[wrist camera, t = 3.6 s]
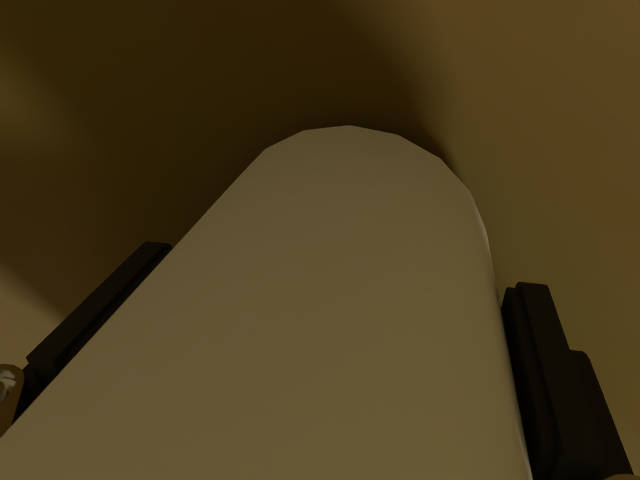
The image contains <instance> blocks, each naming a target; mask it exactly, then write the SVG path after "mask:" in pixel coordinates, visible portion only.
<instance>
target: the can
mask: <svg viewBox="0 0 640 480" xmlns="http://www.w3.org/2000/svg"><path fill="white" fill-rule="evenodd" d="M0 480H533V479H532V473H531V468H530V463H529V457H528V452H527V447H526V441H525V436H524V431H523V425H522V420H521V415H520V409H519V404H518V399H517V393H516V388H515V382H514V377H513V372H512V366H511V361H510V356H509V350H508V345H507V340H506V334H505V329H504V324H503V318H502V313H501V308H500V302H499V297H498V292H497V286H496V281H495V275H494V270H493V265H492V259H491V254H490V249H489V243H488V238H487V233H486V229H485V227H484V224H483V222H482V219H481V217H480V214H479V212H478V209H477V207H476V204H475V202H474V199H473V197H472V194H471V192H470V191H469V190H468V189H467V187H466V186H465V185H464V184H463V183H462V182H461V181H460V180H459V179H458V178H457V176H456V175H455V174H454V173H453V172H452V171H451V170H450V169H449V168H448V167H447V165H446V164H445V163H444V162H443V161H442V160H441V159H440V158H439V157H437V156H435V155H433V154H431V153H430V152H428V151H426V150H424V149H422V148H421V147H419V146H417V145H415V144H413V143H412V142H410V141H408V140H406V139H404V138H403V137H401V136H399V135H397V134H392V133H387V132H382V131H377V130H372V129H367V128H362V127H357V126H352V125H346V126H337V127H329V128H320V129H311V130H303V131H301V132H299V133H297V134H295V135H293V136H291V137H289V138H287V139H285V140H282V141H280V142H278V143H276V144H274V145H272V146H270V147H268V148H266V149H265V150H264V151H263V152H262V153H261V154H260V155H259V156H258V157H257V158H256V159H255V160H254V161H253V162H252V163H251V164H250V165H249V166H248V167H247V168H246V169H245V170H244V172H243V173H242V174H241V175H240V176H239V177H238V178H237V179H236V180H235V181H234V182H233V183H232V184H231V186H230V187H229V188H228V189H227V190H226V191H225V192H224V193H223V194H222V195H221V197H220V198H219V199H218V200H217V201H216V202H215V203H214V204H213V205H212V206H211V208H210V209H209V210H208V211H207V212H206V213H205V214H204V215H203V216H202V217H201V219H200V220H199V221H198V222H197V223H196V224H195V225H194V226H193V227H192V228H191V229H190V231H189V232H188V233H187V234H186V235H185V236H184V237H183V238H182V239H181V240H180V242H179V243H178V244H177V245H176V246H175V247H174V248H173V249H172V250H171V251H170V253H169V254H168V255H167V256H166V257H165V258H164V259H163V260H162V261H161V262H160V264H159V265H158V266H157V267H156V268H155V269H154V270H153V271H152V272H151V273H150V275H149V276H148V277H147V278H146V279H145V280H144V281H143V282H142V283H141V284H140V285H139V287H138V288H137V289H136V290H135V291H134V292H133V293H132V294H131V295H130V296H129V298H128V299H127V300H126V301H125V302H124V303H123V304H122V305H121V306H120V307H119V309H118V310H117V311H116V312H115V313H114V314H113V315H112V316H111V317H110V318H109V320H108V321H107V322H106V323H105V324H104V325H103V326H102V327H101V328H100V329H99V330H98V332H97V333H96V334H95V335H94V336H93V337H92V338H91V339H90V340H89V341H88V343H87V344H86V345H85V346H84V347H83V348H82V349H81V350H80V351H79V352H78V354H77V355H76V356H75V357H74V358H73V359H72V360H71V361H70V362H69V363H68V365H67V366H66V367H65V368H64V369H63V370H62V371H61V372H60V373H59V374H58V376H57V377H56V378H55V379H54V380H53V381H52V382H51V383H50V384H49V385H48V386H47V388H46V389H45V390H44V391H43V392H42V393H41V394H40V395H39V396H38V397H37V399H36V400H35V401H34V402H33V403H32V404H31V405H30V406H29V407H28V408H27V410H26V411H25V412H24V413H23V414H22V415H21V416H20V417H19V418H18V419H17V421H16V422H15V423H14V424H13V425H12V426H11V427H10V428H9V429H8V430H7V431H6V433H5V434H4V435H3V436H2V437H1V438H0Z"/></svg>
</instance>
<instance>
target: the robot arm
mask: <svg viewBox="0 0 640 480" xmlns="http://www.w3.org/2000/svg"><path fill="white" fill-rule="evenodd" d="M172 249H173V248H172V246H171V245H170V244H167V243H157V242H145V243H143V244H142V245H141V246H140V247H139V248H138V249H137V250H136V251H135V252H134V253H133V254H132V255H131V256H130V257H129V258H128V259H127V260H126V261H125V262H123V263H122V264H121V265H120V266H119V267H118V268H117V269H116V270H115V271H114V272H113V273H112V274H111V275H110V276H109V277H108V278H107V279H106V280H105V281H104V282H103V283H102V284H101V285H100V286H99V287H98V288H97V289H96V290H95V291H94V292H93V293H92V294H91V295H89V296H88V297H87V298H86V299H85V300H84V301H83V302H82V303H81V304H80V305H79V306H78V307H77V308H76V309H75V310H74V311H73V312H72V313H71V314H70V315H69V316H68V317H67V318H66V319H65V320H64V321H63V322H62V323H61V324H60V325H59V326H58V327H56V328H55V329H54V330H53V331H52V332H51V333H50V334H49V335H48V336H47V337H46V338H45V339H44V340H43V341H42V342H41V343H40V344H39V345H38V346H37V347H36V348H35V349H34V350H33V351H32V352H31V353H30V354H29V355H28V356H27V357H26V359H27V361H28V363H29V364H28V365H27V366H26V367H25V368H24V369H23V370H21V369H20V368H19V367H17V366H15V365H10V364H0V438H1V437H2V436H3V435H4V434H5V433H6V431H7V430H8V429H9V428H10V427H11V426H12V425H13V424H14V423H15V422H16V421H17V419H18V418H19V417H20V416H21V415H22V414H23V413H24V412H25V411H26V410H27V408H28V407H29V406H30V405H31V404H32V403H33V402H34V401H35V400H36V399H37V397H38V396H39V395H40V394H41V393H42V392H43V391H44V390H45V389H46V388H47V386H48V385H49V384H50V383H51V382H52V381H53V380H54V379H55V378H56V377H57V376H58V374H59V373H60V372H61V371H62V370H63V369H64V368H65V367H66V366H67V365H68V363H69V362H70V361H71V360H72V359H73V358H74V357H75V356H76V355H77V354H78V352H79V351H80V350H81V349H82V348H83V347H84V346H85V345H86V344H87V343H88V341H89V340H90V339H91V338H92V337H93V336H94V335H95V334H96V333H97V332H98V330H99V329H100V328H101V327H102V326H103V325H104V324H105V323H106V322H107V321H108V320H109V318H110V317H111V316H112V315H113V314H114V313H115V312H116V311H117V310H118V309H119V307H120V306H121V305H122V304H123V303H124V302H125V301H126V300H127V299H128V298H129V296H130V295H131V294H132V293H133V292H134V291H135V290H136V289H137V288H138V287H139V285H140V284H141V283H142V282H143V281H144V280H145V279H146V278H147V277H148V276H149V275H150V273H151V272H152V271H153V270H154V269H155V268H156V267H157V266H158V265H159V264H160V262H161V261H162V260H163V259H164V258H165V257H166V256H167V255H168V254H169V253H170V251H171V250H172ZM501 313H502V318H503V324H504V329H505V334H506V340H507V345H508V350H509V356H510V361H511V366H512V372H513V377H514V382H515V388H516V393H517V399H518V404H519V409H520V415H521V420H522V425H523V431H524V436H525V441H526V447H527V452H528V457H529V463H530V468H531V473H532V479H533V480H640V476H636V475H634V474H633V471H632V468H631V466H630V463H629V461H628V458H627V455H626V453H625V450H624V448H623V445H622V442H621V440H620V437H619V435H618V432H617V429H616V427H615V424H614V422H613V419H612V416H611V414H610V411H609V409H608V406H607V403H606V401H605V398H604V395H603V393H602V390H601V388H600V385H599V382H598V380H597V377H596V375H595V372H594V369H593V367H592V364H591V362H590V360H589V358H588V356H587V354H586V353H584V352H583V351H575V350H570V349H569V346H568V343H567V340H566V337H565V335H564V332H563V329H562V326H561V323H560V320H559V317H558V314H557V311H556V308H555V305H554V302H553V299H552V297H551V294H550V291H549V288H548V286H547V285H544V284H535V283H526V282H518V283H517V284H516V286H515V288H510V287H508V288H507V289H506V291H505V295H504V299H503V303H502V307H501Z"/></svg>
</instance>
